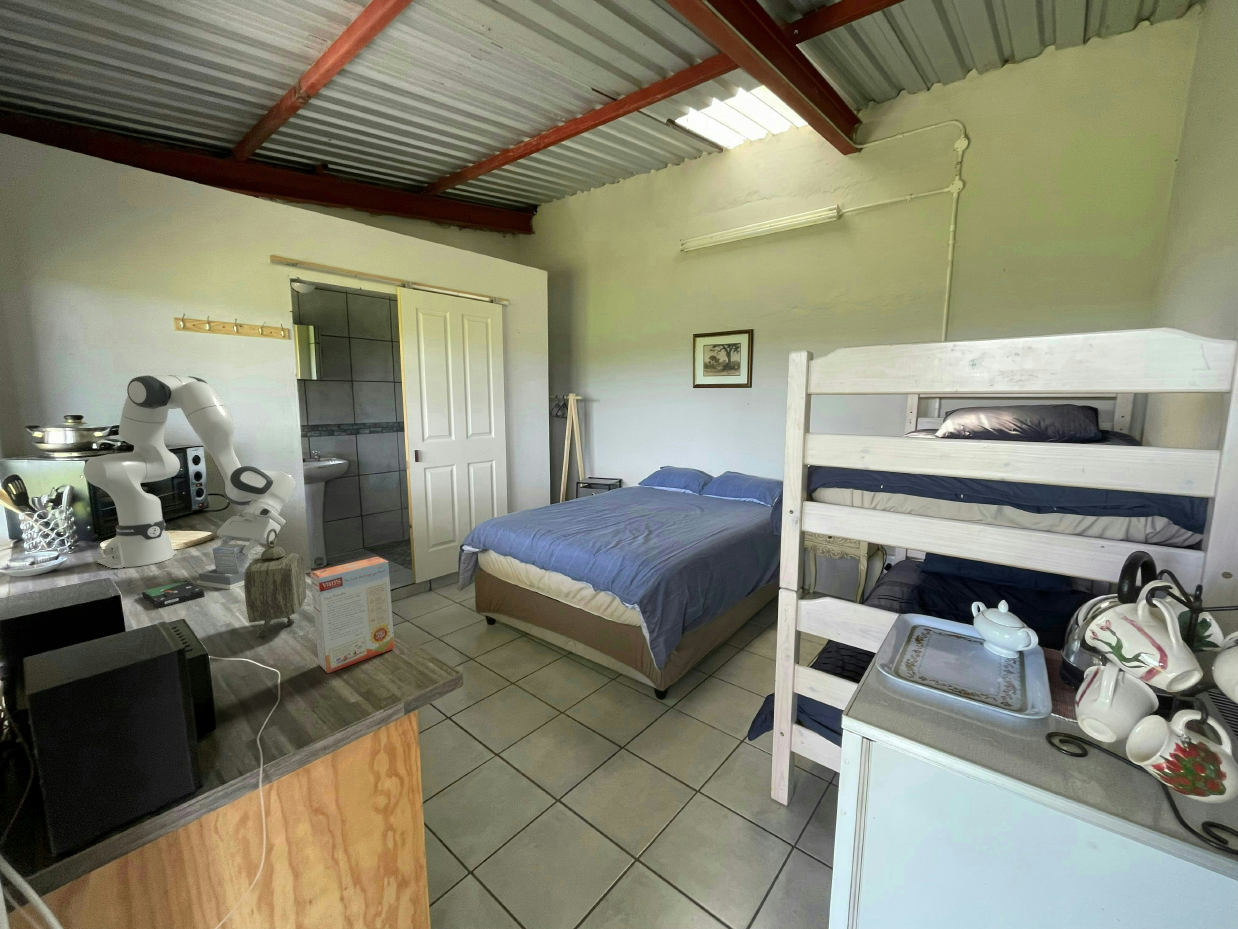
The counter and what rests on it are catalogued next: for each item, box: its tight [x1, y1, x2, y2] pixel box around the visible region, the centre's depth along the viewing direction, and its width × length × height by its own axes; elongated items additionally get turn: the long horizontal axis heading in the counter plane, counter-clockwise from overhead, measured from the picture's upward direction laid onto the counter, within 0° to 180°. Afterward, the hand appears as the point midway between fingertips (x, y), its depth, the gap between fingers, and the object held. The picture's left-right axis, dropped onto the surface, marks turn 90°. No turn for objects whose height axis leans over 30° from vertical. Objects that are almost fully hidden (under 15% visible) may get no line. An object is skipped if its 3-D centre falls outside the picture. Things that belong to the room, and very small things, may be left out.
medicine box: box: [212, 543, 250, 575], centre depth 153 cm, size 8×4×9 cm, turn 83°
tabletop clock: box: [243, 529, 307, 639], centre depth 120 cm, size 14×9×25 cm, turn 21°
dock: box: [195, 561, 252, 590], centre depth 154 cm, size 14×14×4 cm
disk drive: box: [141, 579, 206, 609], centre depth 140 cm, size 10×3×15 cm
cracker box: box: [310, 556, 395, 674], centre depth 105 cm, size 14×6×21 cm, turn 138°
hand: (232, 552), depth 153 cm, fingers closed on medicine box, 8 cm apart
